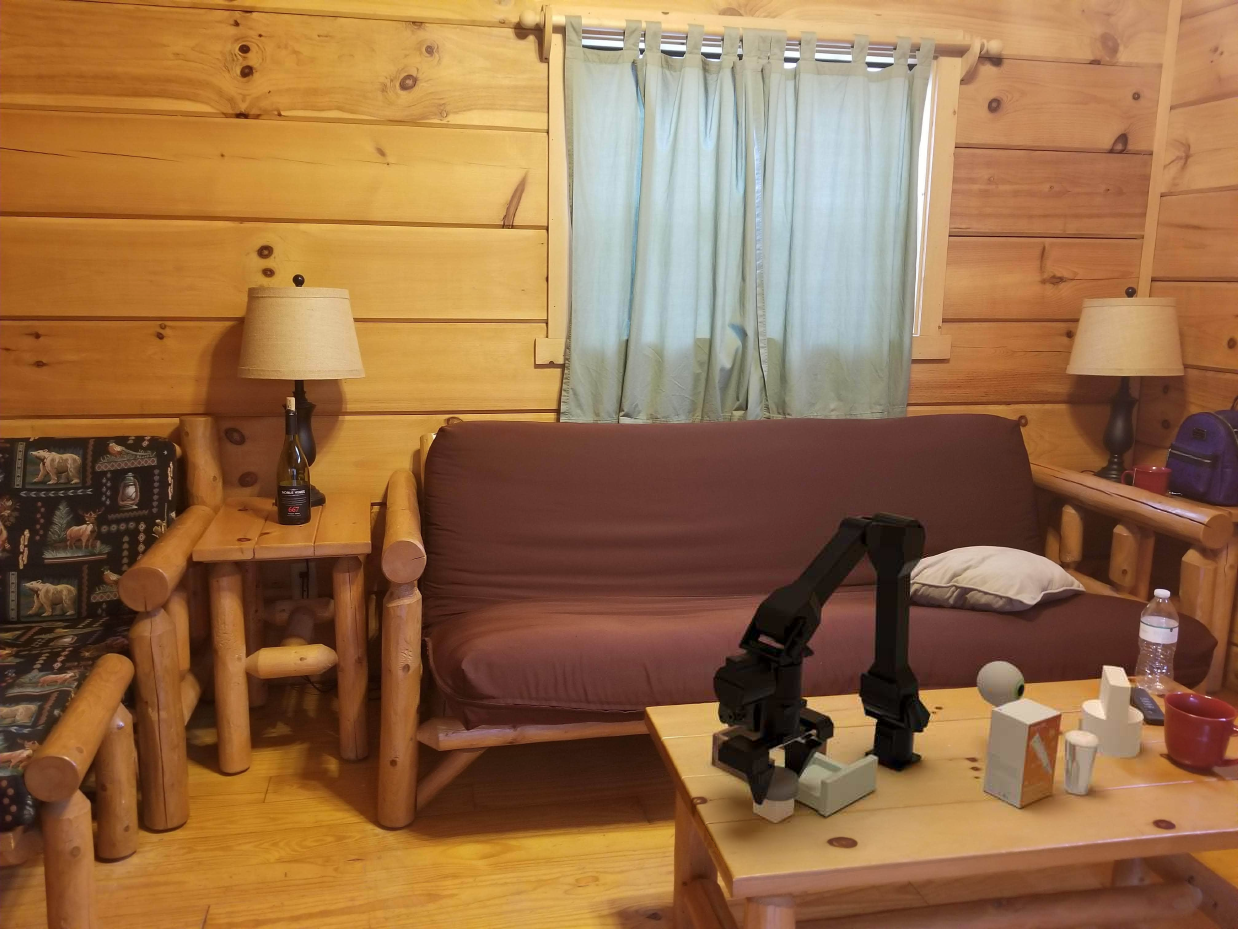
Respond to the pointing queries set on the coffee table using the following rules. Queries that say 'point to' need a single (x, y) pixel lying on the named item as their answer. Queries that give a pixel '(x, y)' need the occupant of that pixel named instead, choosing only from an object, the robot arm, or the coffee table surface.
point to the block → (774, 809)
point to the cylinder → (782, 785)
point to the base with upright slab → (1114, 716)
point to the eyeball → (1000, 683)
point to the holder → (742, 730)
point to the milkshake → (1079, 760)
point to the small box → (1022, 752)
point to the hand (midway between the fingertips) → (774, 796)
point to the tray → (835, 782)
